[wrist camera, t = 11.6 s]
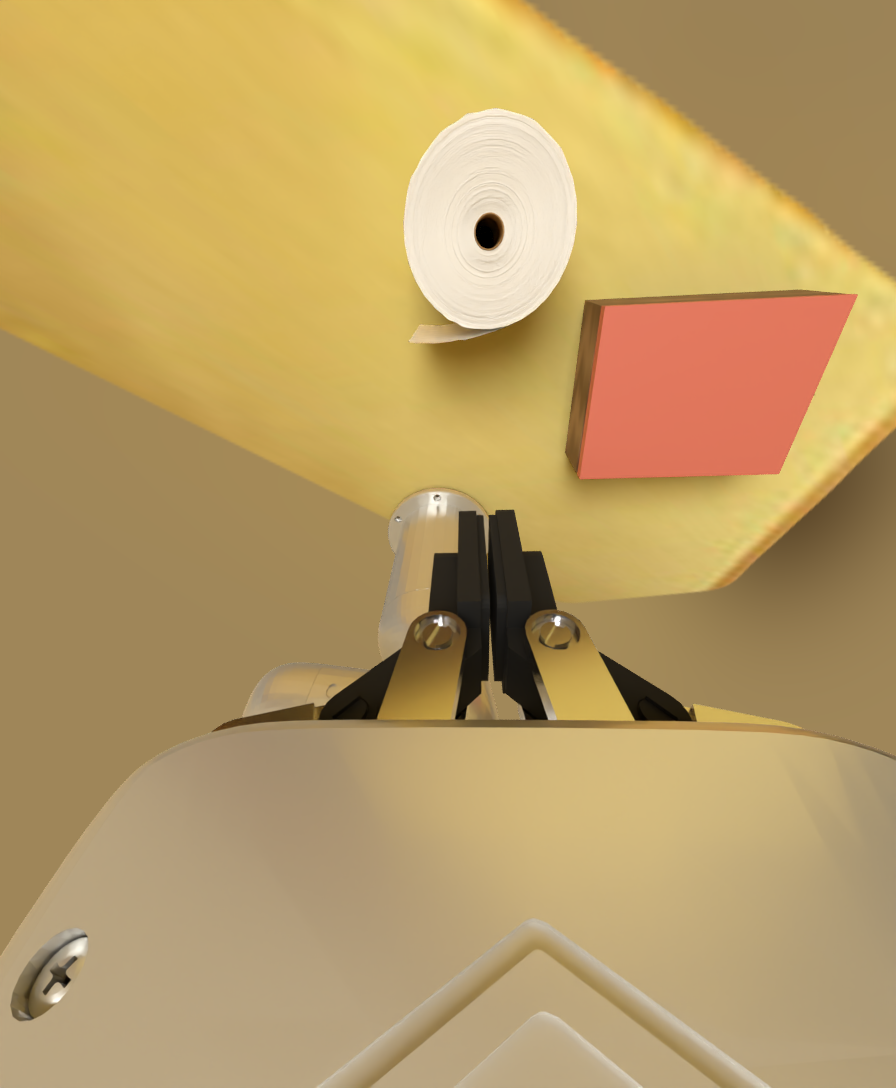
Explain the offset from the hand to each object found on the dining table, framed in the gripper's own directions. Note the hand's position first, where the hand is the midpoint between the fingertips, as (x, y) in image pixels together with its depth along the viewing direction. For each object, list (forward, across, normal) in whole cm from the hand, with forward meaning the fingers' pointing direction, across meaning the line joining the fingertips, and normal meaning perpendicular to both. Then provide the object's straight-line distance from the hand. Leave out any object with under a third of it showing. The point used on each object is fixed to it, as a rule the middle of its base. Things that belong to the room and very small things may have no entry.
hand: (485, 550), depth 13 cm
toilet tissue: (+31, -1, -8) cm, 32 cm away
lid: (+26, -19, +3) cm, 32 cm away
